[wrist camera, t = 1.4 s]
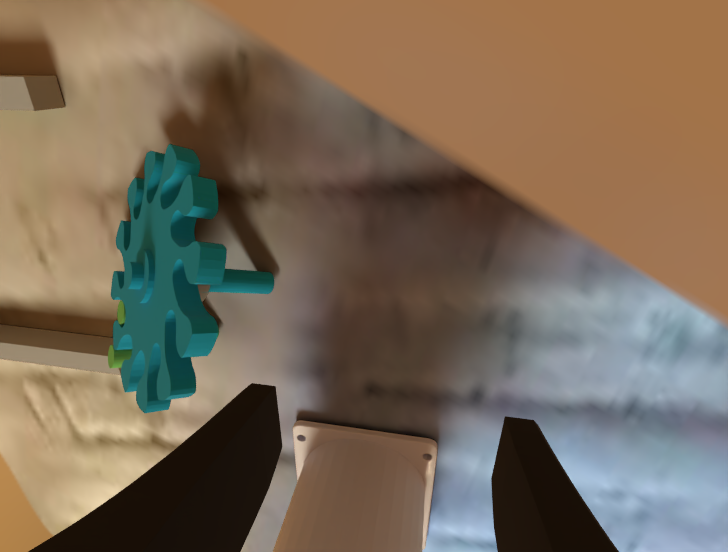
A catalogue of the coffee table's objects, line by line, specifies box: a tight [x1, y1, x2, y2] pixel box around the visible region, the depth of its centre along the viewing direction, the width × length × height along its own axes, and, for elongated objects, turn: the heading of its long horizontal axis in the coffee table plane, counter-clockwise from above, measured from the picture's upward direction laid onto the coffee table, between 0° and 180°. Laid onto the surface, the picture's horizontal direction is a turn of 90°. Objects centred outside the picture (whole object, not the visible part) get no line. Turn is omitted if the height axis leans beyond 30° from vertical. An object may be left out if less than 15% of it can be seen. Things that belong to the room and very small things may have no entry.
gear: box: [108, 144, 274, 413], centre depth 18 cm, size 11×6×10 cm
